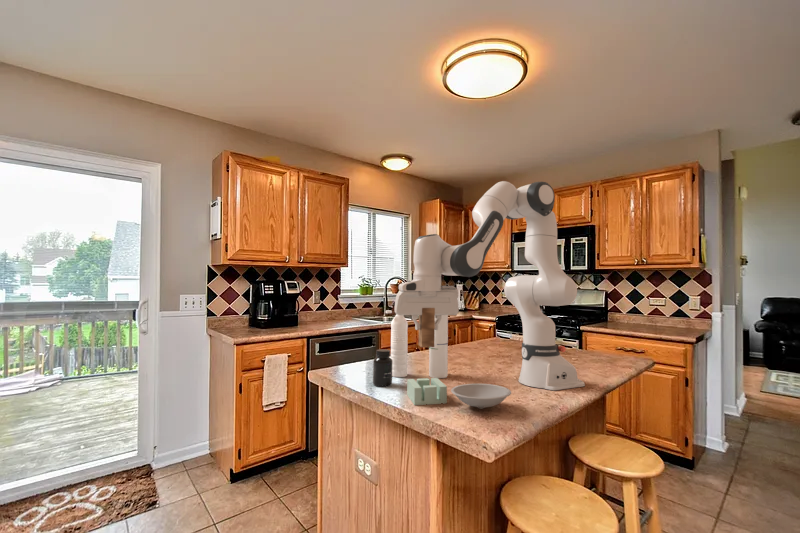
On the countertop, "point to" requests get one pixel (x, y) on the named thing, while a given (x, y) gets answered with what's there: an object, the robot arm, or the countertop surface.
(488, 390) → the dish
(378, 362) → the supplement bottle
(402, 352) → the water bottle
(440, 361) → the cylindrical container
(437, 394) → the socket
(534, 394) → the countertop surface
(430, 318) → the peg
